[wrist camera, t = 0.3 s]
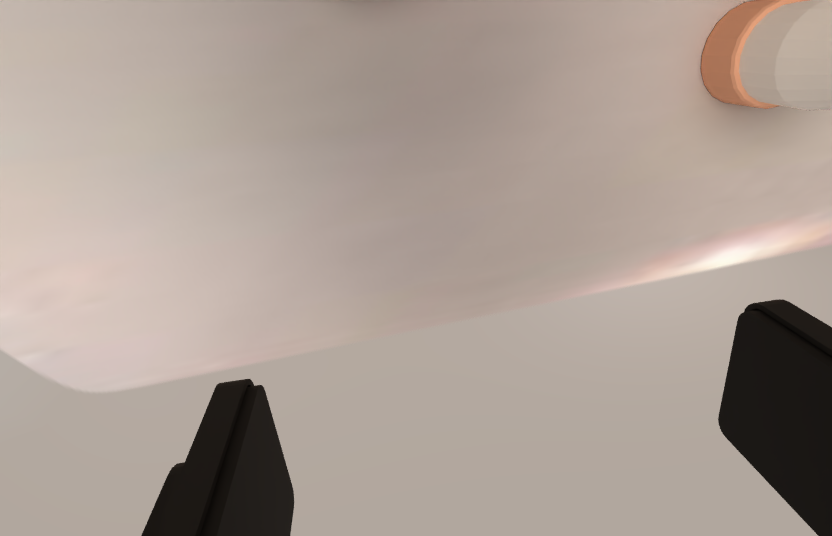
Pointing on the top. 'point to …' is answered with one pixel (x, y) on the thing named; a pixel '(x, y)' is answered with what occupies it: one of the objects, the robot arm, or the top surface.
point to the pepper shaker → (772, 55)
